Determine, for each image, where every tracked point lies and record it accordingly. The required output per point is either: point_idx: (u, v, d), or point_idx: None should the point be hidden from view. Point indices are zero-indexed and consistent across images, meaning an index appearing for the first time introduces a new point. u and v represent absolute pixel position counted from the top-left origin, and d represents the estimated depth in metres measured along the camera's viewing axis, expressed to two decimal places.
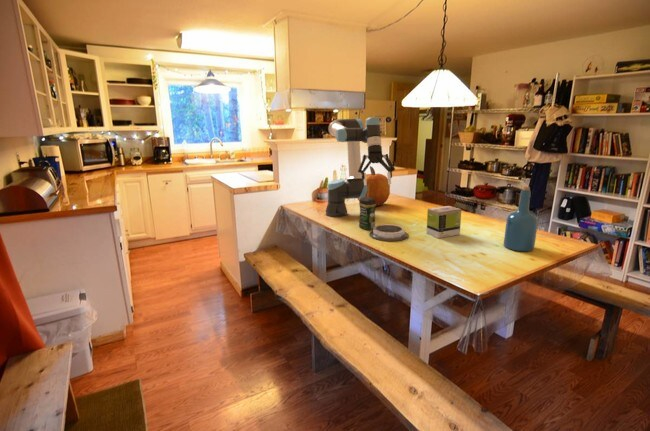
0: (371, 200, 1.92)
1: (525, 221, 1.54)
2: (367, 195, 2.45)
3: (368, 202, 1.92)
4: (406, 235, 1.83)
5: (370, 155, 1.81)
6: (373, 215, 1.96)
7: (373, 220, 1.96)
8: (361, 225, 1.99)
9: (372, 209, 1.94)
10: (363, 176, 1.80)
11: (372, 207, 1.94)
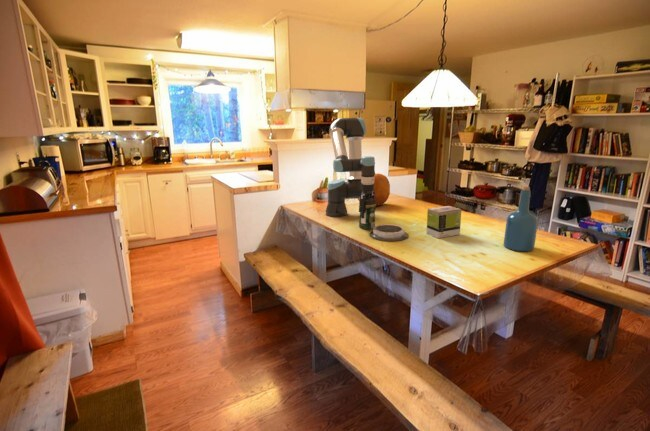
0: (371, 200, 1.92)
1: (525, 221, 1.54)
2: None
3: (368, 202, 1.92)
4: (406, 235, 1.83)
5: (366, 194, 1.92)
6: (373, 215, 1.96)
7: (373, 220, 1.96)
8: (361, 225, 1.99)
9: (372, 209, 1.94)
10: (363, 216, 1.94)
11: (372, 207, 1.94)
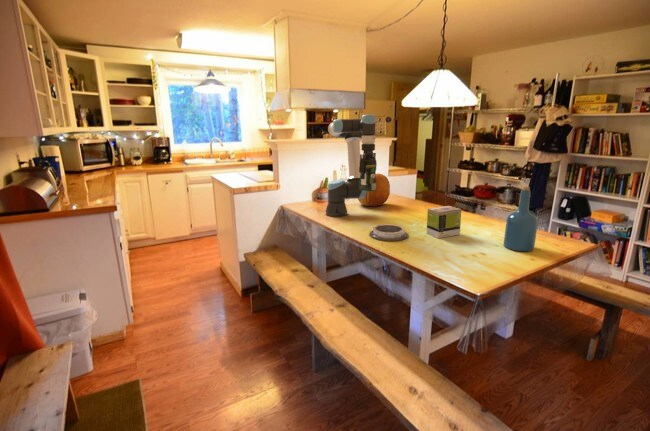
0: (372, 160, 1.87)
1: (525, 221, 1.54)
2: (367, 195, 2.45)
3: (368, 162, 1.86)
4: (406, 235, 1.83)
5: (367, 153, 1.86)
6: (374, 176, 1.90)
7: (374, 181, 1.91)
8: (361, 187, 1.93)
9: (373, 170, 1.89)
10: (364, 176, 1.88)
11: (373, 167, 1.88)
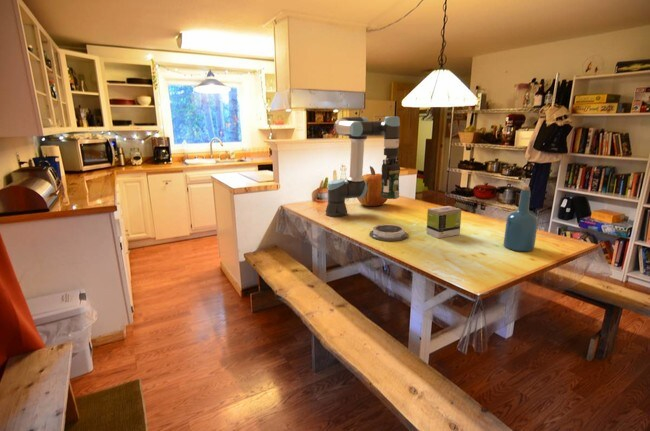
0: (395, 165, 1.72)
1: (525, 221, 1.54)
2: (367, 195, 2.45)
3: (391, 167, 1.72)
4: (406, 235, 1.83)
5: (390, 158, 1.72)
6: (397, 183, 1.76)
7: (397, 188, 1.76)
8: (383, 194, 1.79)
9: (396, 176, 1.74)
10: (386, 183, 1.74)
11: (396, 173, 1.74)
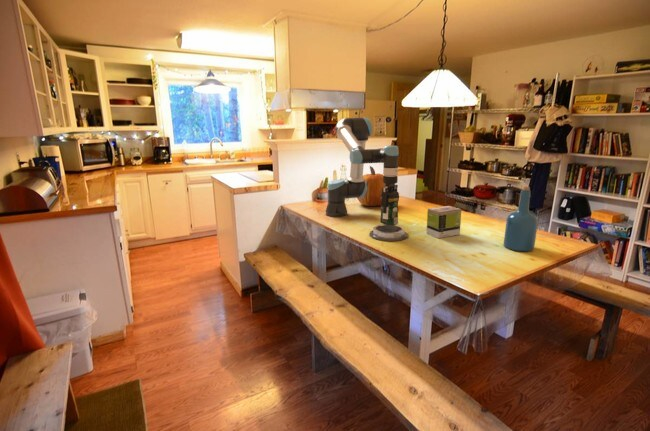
0: (394, 193, 1.76)
1: (525, 221, 1.54)
2: (367, 195, 2.45)
3: (391, 195, 1.76)
4: (406, 235, 1.83)
5: (389, 186, 1.76)
6: (396, 210, 1.80)
7: (396, 215, 1.80)
8: (383, 221, 1.82)
9: (395, 203, 1.78)
10: (386, 211, 1.78)
11: (395, 201, 1.77)
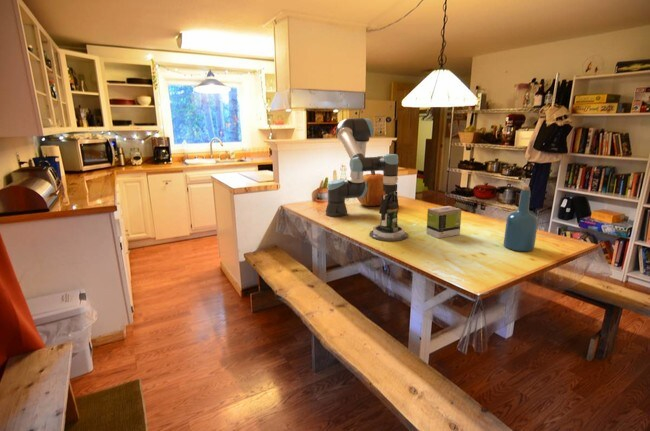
0: (394, 204, 1.77)
1: (525, 221, 1.54)
2: (367, 195, 2.45)
3: (390, 206, 1.77)
4: (406, 235, 1.83)
5: (389, 194, 1.77)
6: (396, 220, 1.81)
7: (396, 226, 1.82)
8: (382, 231, 1.84)
9: (395, 214, 1.79)
10: (384, 218, 1.77)
11: (395, 212, 1.79)
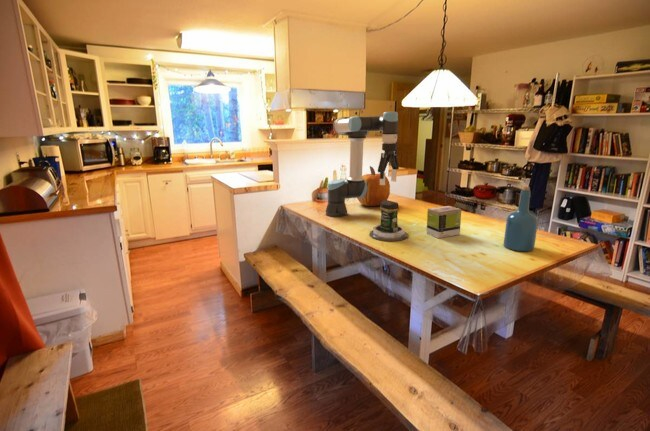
0: (394, 204, 1.78)
1: (525, 221, 1.54)
2: (367, 195, 2.45)
3: (390, 206, 1.77)
4: (406, 235, 1.83)
5: (388, 153, 1.74)
6: (396, 220, 1.81)
7: (396, 226, 1.82)
8: (382, 231, 1.84)
9: (395, 214, 1.80)
10: (383, 176, 1.73)
11: (395, 212, 1.79)
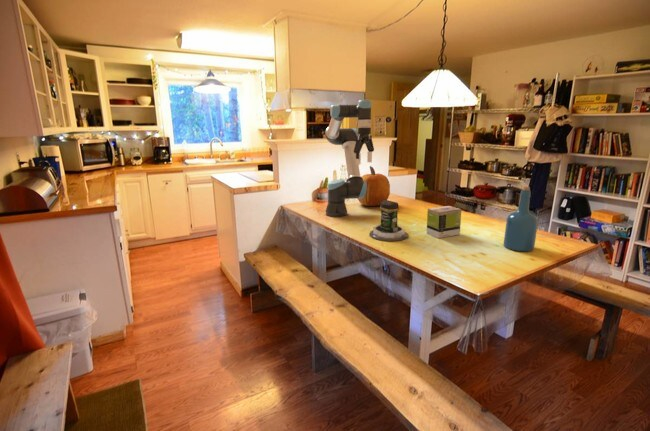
0: (394, 204, 1.78)
1: (525, 221, 1.54)
2: (367, 195, 2.45)
3: (390, 206, 1.77)
4: (406, 235, 1.83)
5: (363, 136, 1.98)
6: (396, 220, 1.81)
7: (396, 226, 1.82)
8: (382, 231, 1.84)
9: (395, 214, 1.80)
10: (358, 156, 1.97)
11: (395, 212, 1.79)
